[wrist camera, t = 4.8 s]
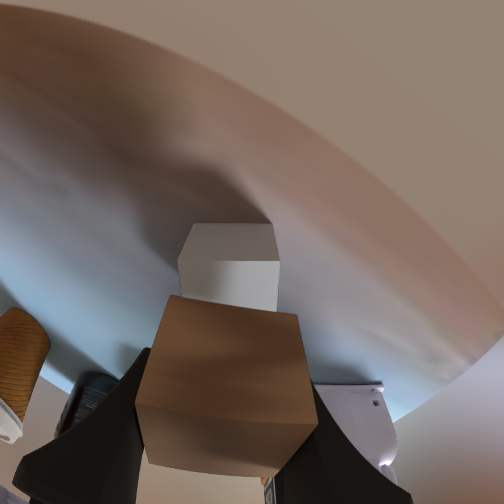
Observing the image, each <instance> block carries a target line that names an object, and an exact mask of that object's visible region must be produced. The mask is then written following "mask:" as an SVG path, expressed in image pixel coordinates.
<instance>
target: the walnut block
mask: <svg viewBox="0 0 504 504" xmlns="http://www.w3.org/2000/svg"><path fill="white" fill-rule="evenodd" d="M135 406H136V411H137V416H138V421H139V425H140V430H141V434H142V438H143V442H144V446H145V450H146V454H147V458H148V462H149V463H151V464H155V465H160V466H165V467H170V468H175V469H181V470H187V471H193V472H201V473H209V474H218V475H229V476H242V477H268V478H273V477H274V476H275V475H276V474H277V473H278V472H279V471H280V470H281V468H282V467H283V466H284V465H285V464H286V463H287V462H288V460H289V459H290V458H291V457H292V456H293V455H294V453H295V452H296V451H297V450H298V449H299V447H300V446H301V445H302V444H303V443H304V441H305V440H306V439H307V438H308V436H309V435H310V434H311V433H312V431H313V430H314V429H315V427H316V426H317V425H318V418H317V413H316V408H315V402H314V397H313V392H312V386H311V381H310V376H309V371H308V366H307V361H306V356H305V351H304V346H303V341H302V336H301V332H300V327H299V322H298V317H297V315H296V314H288V313H280V312H273V311H266V310H259V309H252V308H246V307H239V306H233V305H226V304H220V303H214V302H208V301H202V300H197V299H191V298H186V297H180V296H175V295H170V297H169V299H168V302H167V305H166V308H165V311H164V313H163V316H162V319H161V322H160V325H159V328H158V331H157V334H156V337H155V340H154V343H153V346H152V349H151V352H150V355H149V358H148V361H147V364H146V367H145V370H144V373H143V377H142V380H141V383H140V386H139V390H138V393H137V396H136V400H135Z"/></svg>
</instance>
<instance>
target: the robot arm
mask: <svg viewBox="0 0 504 504" xmlns="http://www.w3.org/2000/svg"><path fill="white" fill-rule="evenodd" d="M151 349H152V348H147V347H146V348H144V349H143V350H142V352H141V353H140V355H139V356H138V358H137V359H136V360H135V362H134V363H133V365H132V366H131V367H130V368H129V370H128V371H127V372H126V374H125V375H124V376H123V377H122V379H121V380H120V381H119V382H118V383H117V385H116V386H115V387H114V388H113V389H112V390H111V391H110V392H109V393H108V395H107V396H106V397H105V398H104V399H103V400H102V401H101V402H100V403H99V404H98V405H97V406H96V407H95V408H94V409H93V410H92V411H91V412H89V413H88V414H87V415H86V416H85V417H84V418H83V419H81V420H80V421H79V422H78V423H76V424H75V425H74V426H73V427H71V428H70V429H69V430H67V431H66V432H65V433H63V434H62V435H60V436H59V437H57V438H55V439H54V440H52V441H51V442H49V443H48V444H46V445H44V446H42V447H41V448H39V449H37V450H35V451H33V452H31V453H29V454H27V455H25V456H23V458H22V460H21V462H20V463H19V465H18V467H17V470H16V472H15V475H14V478H13V481H12V484H13V485H14V486H15V487H16V488H18V489H19V490H20V491H22V492H23V493H25V494H27V495H28V496H30V497H31V499H30V502H27V501H25V500H23V499H22V498H20V497H18V496H16V495H15V494H13V493H12V492H10V491H8V490H7V489H5V488H4V487H3V486H2V485H0V504H135V503H136V494H137V486H138V478H139V471H140V466H141V459H142V454H143V450H144V442H143V438H142V434H141V430H140V425H139V421H138V416H137V411H136V406H135V400H136V396H137V393H138V390H139V386H140V383H141V380H142V377H143V373H144V370H145V367H146V364H147V361H148V358H149V355H150V352H151ZM310 381H311V386H312V392H313V397H314V402H315V408H316V413H317V418H318V425H317V426H316V427H315V429H314V430H313V431H312V433H311V434H310V435H309V436H308V438H307V439H306V440H305V441H304V443H303V444H302V445H301V446H300V447H299V449H298V450H297V451H296V452H295V453H294V455H293V456H292V457H291V458H290V459H289V460H288V462H287V463H286V464H285V465H284V504H413V500H412V498H411V494H409V493H408V492H406V491H405V490H403V489H402V488H400V487H399V486H398V484H397V480H396V477H395V473H394V471H393V468H392V467H391V466H389V465H390V464H391V462H392V461H393V460H394V457H395V455H396V451H397V436H396V433H395V429H394V426H393V423H392V420H391V417H390V415H389V412H388V409H387V406H386V403H385V401H384V398H383V395H382V392H383V391H384V389H385V387H384V385H314V384H313V382H312V380H311V378H310Z"/></svg>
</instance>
